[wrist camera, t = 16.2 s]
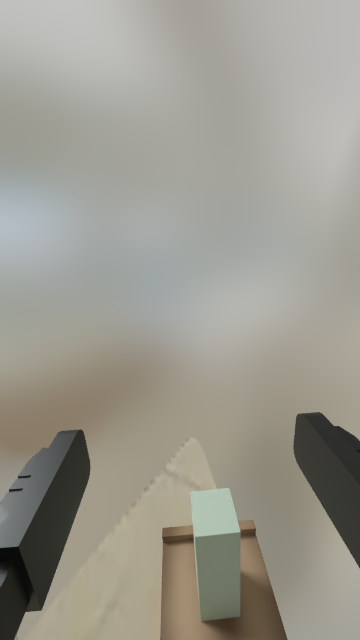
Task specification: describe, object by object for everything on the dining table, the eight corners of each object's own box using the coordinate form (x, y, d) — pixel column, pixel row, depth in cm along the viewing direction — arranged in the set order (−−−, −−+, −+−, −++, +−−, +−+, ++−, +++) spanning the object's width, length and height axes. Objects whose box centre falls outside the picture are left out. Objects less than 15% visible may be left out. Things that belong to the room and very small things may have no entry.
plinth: (162, 715, 21) (157, 691, 19) (165, 549, 32) (162, 528, 31) (297, 700, 21) (301, 676, 20) (252, 541, 32) (253, 519, 31)
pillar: (200, 621, 24) (194, 537, 20) (196, 569, 27) (190, 491, 24) (240, 616, 24) (240, 532, 20) (230, 565, 28) (228, 487, 24)
